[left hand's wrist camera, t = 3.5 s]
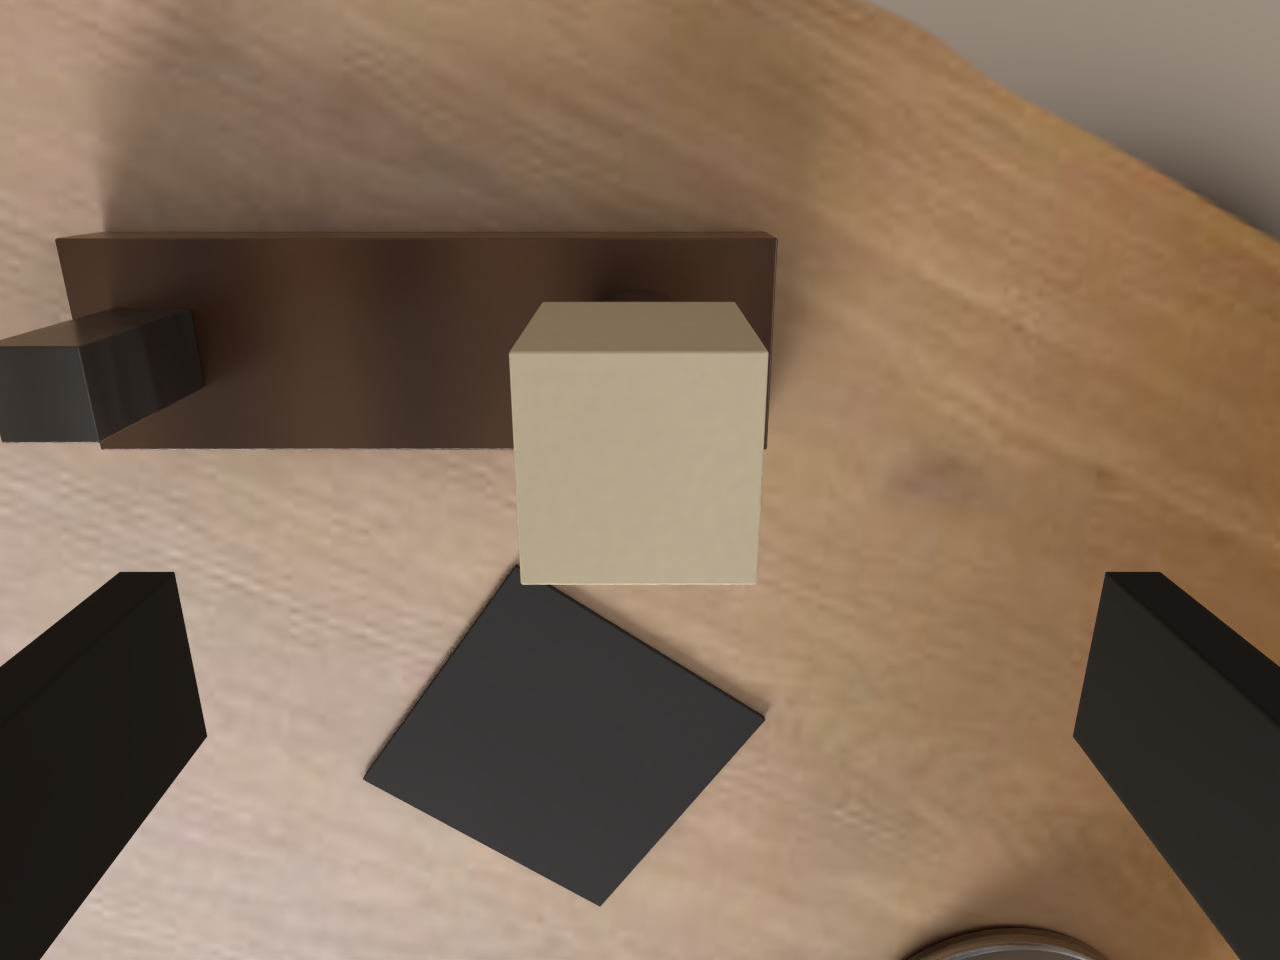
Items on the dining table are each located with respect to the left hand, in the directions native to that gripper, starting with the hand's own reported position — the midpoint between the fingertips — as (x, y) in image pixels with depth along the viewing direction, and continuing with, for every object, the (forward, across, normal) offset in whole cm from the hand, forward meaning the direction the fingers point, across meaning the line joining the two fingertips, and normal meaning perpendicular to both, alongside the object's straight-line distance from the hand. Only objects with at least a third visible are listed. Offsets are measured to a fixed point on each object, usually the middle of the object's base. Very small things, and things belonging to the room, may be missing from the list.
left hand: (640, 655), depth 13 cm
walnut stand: (+25, +8, 0) cm, 26 cm away
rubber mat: (+25, +4, +20) cm, 32 cm away
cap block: (+15, 0, 0) cm, 15 cm away
